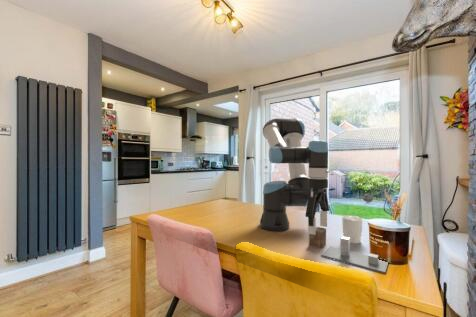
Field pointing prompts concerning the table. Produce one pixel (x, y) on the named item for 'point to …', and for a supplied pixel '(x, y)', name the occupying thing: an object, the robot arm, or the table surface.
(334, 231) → the table surface
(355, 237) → the white cup
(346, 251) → the post
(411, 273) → the table surface
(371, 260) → the stand
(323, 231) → the brown wooden block
